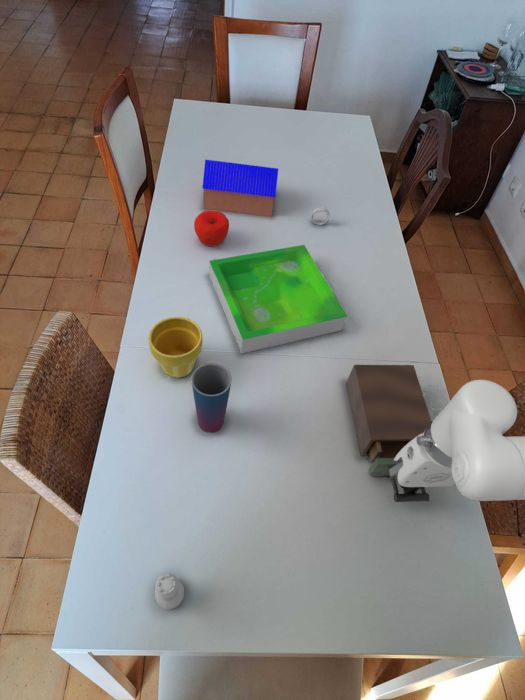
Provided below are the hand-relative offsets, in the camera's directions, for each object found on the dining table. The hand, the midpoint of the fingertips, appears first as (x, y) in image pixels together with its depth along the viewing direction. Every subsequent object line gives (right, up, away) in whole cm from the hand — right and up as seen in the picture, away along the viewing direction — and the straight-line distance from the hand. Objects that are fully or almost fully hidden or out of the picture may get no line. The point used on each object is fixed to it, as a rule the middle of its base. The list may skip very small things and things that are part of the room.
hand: (406, 486), depth 82 cm
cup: (-36, +10, +7) cm, 38 cm away
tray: (-23, +36, +28) cm, 51 cm away
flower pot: (-44, +21, +15) cm, 51 cm away
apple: (-40, +53, +39) cm, 77 cm away
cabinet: (-1, +11, +12) cm, 16 cm away
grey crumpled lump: (-10, +61, +49) cm, 78 cm away
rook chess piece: (-40, -13, -11) cm, 44 cm away
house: (-33, +68, +51) cm, 91 cm away
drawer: (-1, +5, +6) cm, 8 cm away
